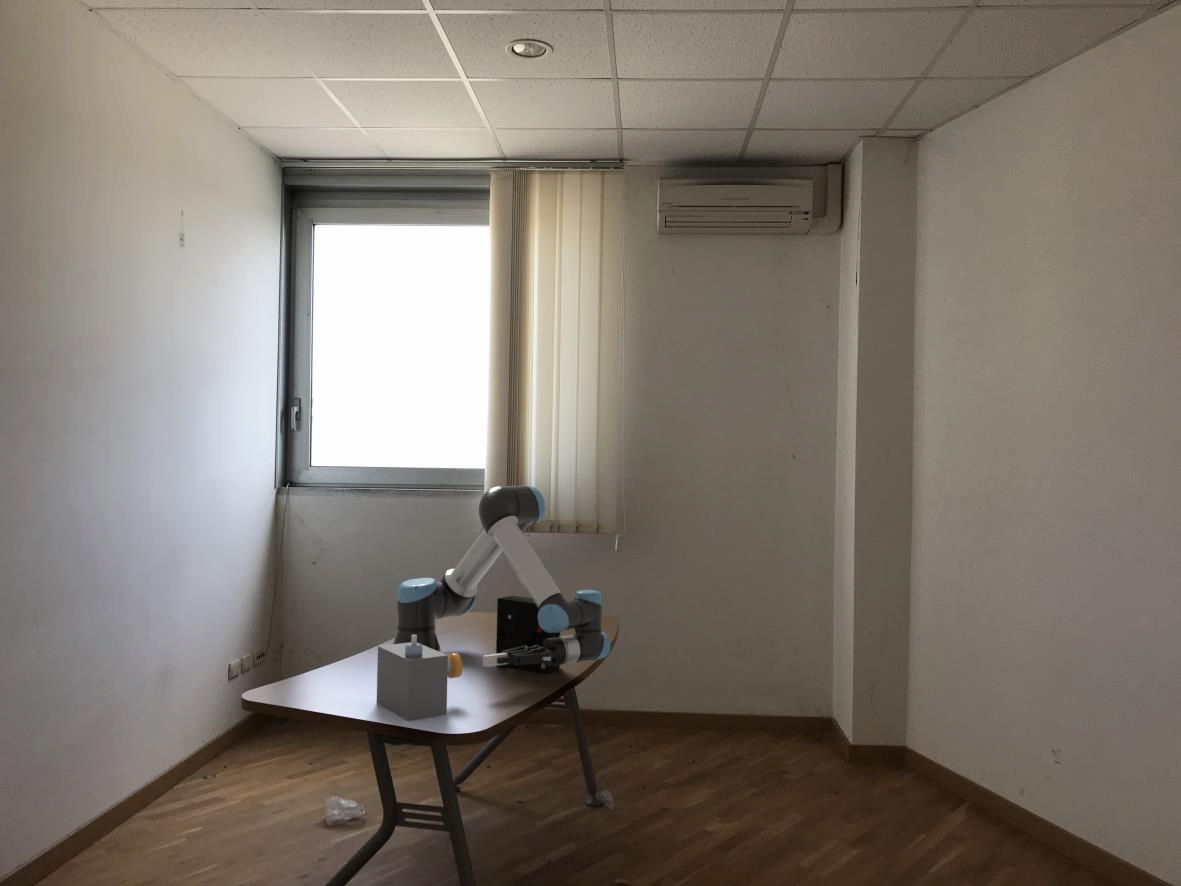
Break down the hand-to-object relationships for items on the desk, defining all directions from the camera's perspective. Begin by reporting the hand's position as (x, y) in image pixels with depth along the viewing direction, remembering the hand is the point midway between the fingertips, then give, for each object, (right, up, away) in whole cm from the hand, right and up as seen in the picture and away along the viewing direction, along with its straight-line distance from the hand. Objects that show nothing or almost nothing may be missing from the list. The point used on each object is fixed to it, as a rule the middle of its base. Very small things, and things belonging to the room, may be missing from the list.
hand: (484, 661), depth 224 cm
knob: (-10, -3, -7) cm, 12 cm away
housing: (-16, -8, -12) cm, 22 cm away
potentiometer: (-15, +6, -17) cm, 23 cm away
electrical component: (+9, -10, +32) cm, 35 cm away
